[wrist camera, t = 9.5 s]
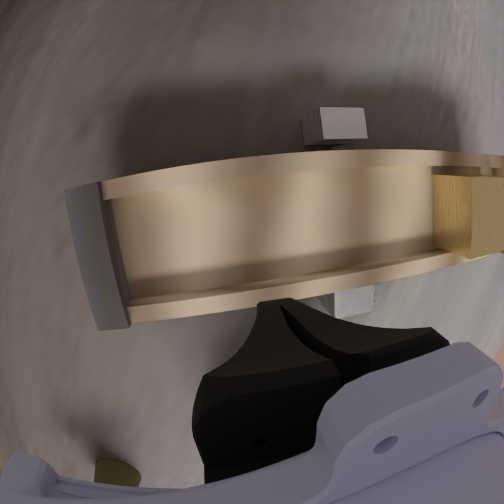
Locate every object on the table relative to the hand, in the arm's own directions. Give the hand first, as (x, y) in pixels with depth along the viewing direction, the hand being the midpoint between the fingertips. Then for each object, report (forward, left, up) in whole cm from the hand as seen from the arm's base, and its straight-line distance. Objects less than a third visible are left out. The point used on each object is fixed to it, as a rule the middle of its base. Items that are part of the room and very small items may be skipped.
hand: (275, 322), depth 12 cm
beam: (+7, +3, -7) cm, 10 cm away
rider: (+16, +2, -6) cm, 17 cm away
